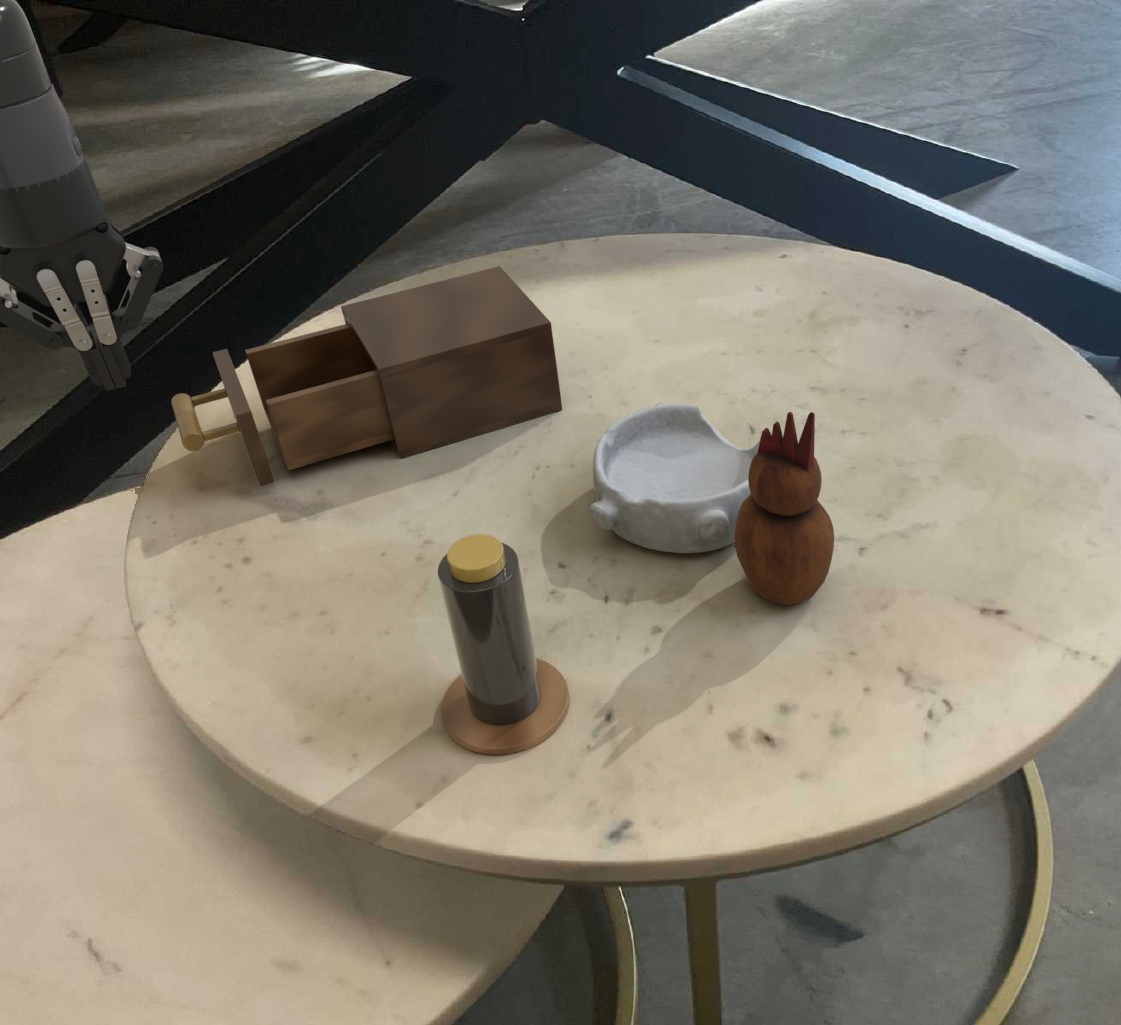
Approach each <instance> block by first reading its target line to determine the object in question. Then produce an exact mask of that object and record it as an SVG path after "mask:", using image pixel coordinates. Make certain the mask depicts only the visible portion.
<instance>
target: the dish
mask: <svg viewBox="0 0 1121 1025" xmlns="http://www.w3.org/2000/svg"><path fill="white" fill-rule="evenodd" d="M759 443H760V440H758V442H756V444H755V445H754V446H752V447H751V448H749V449H748V448H747V449H743V448H739V447H738V446H736V445H734V444H733V443H731V441H729V440H728V439H727V438H725V437H724V436H723V435H722V434H721V433H720V431H718V429H717V428H716V427H715V426H714V425H713V424H712V423H711V421H709V420H708V418H707V417H706V416H705V414H704V412H702V410H701V408H700V407H699V406H697V405H696V404H691V403H674V402H668V401H663V402H659V403H657V404H654V406H649V407H645V408H642V409H639V410H636V411H634V412H632V413H629V414H627V415H626V416H624V417H622V418H620V419H618V420H616V421H615V422H613V423H612V424H611V425H609V427H608V428H607V429H606V431H605V432H604V434H603V435H602V436H601V437H600V438H599V439H598V441H597V444H596V446H595V449H594V453H593V458H592V459H593V461H592V478H593V480H592V481H593V487H594V494H595V499H596V501H595V502H593V503H592V504H591V505H590V507H589V509H590V513H591V516H592V519H593V520H594V521H595V522H596V524H597V525H598V526H599V527H600V528H602V529H604V530H607V531H609V530H610V531H613V532H614V533H615V534H616V535H618V537H620V538H621V539H623V540H625V541H628V542H629V543H631V544H634V545H637V546H639V547H642V548H647V549H650V550H654V551H658V552H659V551H660V552H666V553H674V554H675V553H676V554H677V553H678V554H697V553H706V552H711V551H716V550H719V549H722V548H725V547H728V546H729V545H732V544H735V539H734V534H735V528H736V522H737V517H738V512H739V510H740V507H741V505H742V503H743V501H744V500H745V499H746V498H747V497H748V496H749V495H750V494H751V492H750V489H749V482H748V476H749V469H750V464H751V462H752V459H753V457H754V456H755V455H756V454H757V453H758V448H759Z"/></svg>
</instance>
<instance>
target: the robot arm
mask: <svg viewBox="0 0 1121 1025" xmlns="http://www.w3.org/2000/svg"><path fill="white" fill-rule="evenodd" d="M39 48H40V47H39V46H38V43H37V39H36V37H35V35H34V33H33V30H32V27H31V25H30V22H29V20H28V18H27V16H26V14H25V11H24V10H23V8H22V6H20V4H19V3H18V2H17V1H16V0H0V323H1V324H3V325H5V326H7V327H8V328H10V329H12V330H14V331H16V332H18V333H19V334H21V335H24V336H25V337H27V338H29V339H31V340H32V341H34V342H36V343H37V344H39V345H42V346H44V347H46V348H47V349H49V350H53V351H56V350H60V349H61V348H72V349H75V350H76V351H77V352H78V353H79V355H80V358H81V360H82V362H83V364H84V367H85V369H86V371H87V373H88V376H89V379H90V381H91V382H92V383H93V384H94V385H96V387H98V386H102V385H103V387H104V389H105V391H106V392H109V391H113V390H117V389H121V388H125V387H127V381H126V379H130V378H131V377H132V368H131V364H130V361H129V359H128V356H127V353H126V351H125V349H124V346H123V343H122V341H121V338H122V336H123V335H124V334H126V333H127V332H128V331H130V332H132V331H136V330H137V329H138V328H139V326H140V324H141V322H142V320H143V317H144V315H145V313H146V310H147V308H148V306H149V303H150V301H151V299H152V296H153V294H154V292H155V289H156V287H157V285H158V283H159V280H160V278H161V276H162V273H163V272H164V269H165V268H164V263H163V260H162V256H161V254H160V252H159V249H157V248H156V247H153V246H148V247H147V246H146V247H144V248H143V247H139V246H136V245H133V244H131V243H128V242H126V241H125V238H124V235H123V234H122V232H121V231H120V230H119V229H118V228H116V227H115V226H114V225H113V223H111V222H112V221H110V219H109V216H108V214H107V211H106V209H105V206H104V204H103V201H102V199H101V196H100V193H99V190H98V188H97V185H96V182H95V180H94V177H93V175H92V172H91V170H90V166H89V164H88V162H87V159H86V157H85V154H84V151H83V147H82V144H81V142H80V140H79V138H78V136H77V133H76V131H75V130H76V129H75V127H74V125H73V123H72V120H71V118H70V116H69V114H68V112H67V110H66V108H65V105H63V103H62V100H61V99H60V97H59V95H58V93H57V91H56V89H55V86H54V85H53V82H52V80H51V76H50V74H49V72H48V69H47V67H46V65H45V64H46V63H45V62H44V59H43V57H42V53H41V51H40V49H39ZM123 260H125V261H126V271H127V274H128V275H129V276H130V280H129V282H128V284H127V286H126V288H125V291H124V293H123V296H122V298H121V300H120V303H119V305H118V308H117V309H116V310H114V311H113V312H111V310H110V306H109V303H108V300H107V296H106V295H108V294H109V293H110V291H112V289H113V288H114V284H115V281H116V278H117V277H118V274H119V271H120V268H121V266H122V263H123ZM12 287H14V288H15V289H17V290H19V291H20V292H21V293H23V294H25V295H27V296H29V297H30V298H31V299H33V300H34V301H37V302H38V303H40V304H42V305H43V306H46V307H50V308H53V310H54V312H55V314H56V316H57V317H58V319H59V321H60V323H59V322H57V321H56V320H54V319H52V318H50V317H48V316H47V315H45V314H43V313H41V312H39V311H38V310H36V309H34V308H32V307H30V306H28V305H27V304H25V303H23V302H22V301H20V300H19V295H18V293H17V291H16V290H15V289H13V288H12ZM79 303H86V304H87V307H88V311H89V314H90V317H91V319H92V322H93V325H94V328H95V331H96V335H94V334H93V332H92V329H91V328H90V326H89V324H88V322H87V320H86V318H85V315H84V314H83V312H82V311H81V308H80V305H79Z"/></svg>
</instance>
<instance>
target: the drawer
mask: <svg viewBox="0 0 1121 1025" xmlns="http://www.w3.org/2000/svg"><path fill="white" fill-rule="evenodd" d="M244 352H245V355H246V358H247V361H248V364H249V367H250V371H251V374H252V376H253V380H254V383H255V386H256V390H257V392H258V395H259V399H260V402H261V404H262V408H263V411H264V414H265V416H266V419H267V422H268V423H269V426H270V428H271V431H272V434H273V436H274V439H275V441H276V443H277V446H278V449H279V451H280V453H281V456H282V457H283V461H284V463H285V465H286V468H287V471H291V470H295V469H298V468H301V467H305V466H308V465H311V464H314V463H315V464H316V463H319V462H322V461H325V460H329V459H332V458H335V457H338V456H339V457H340V456H342V455H346V454H348V453H352V452H355V451H359V450H363V449H365V448H368V447H369V448H370V447H372V446H376V445H379V444H382V443H386V442H389V441H390V440H393V439H394V437H393V433H392V429H391V424H390V420H389V416H388V412H387V408H386V404H385V400H384V396H383V392H382V388H381V384H380V380H379V376H378V373H377V371H376V369H375V367H374V366H373V364H372V362H371V361H370V359H369V357H368V356H367V354H366V352H365V351H364V349H363V347H362V345H361V344H360V342H359V340H358V339H357V337H356V335H355V334H354V332H353V330H352V328H351V327H350V325H349V323H348V324H345V323H344V324H340V325H336V326H332V327H328V328H324V329H322V330H318V331H314V332H309V333H306V334H305V333H304V334H302V335H297V336H295V337H290V338H285V339H283V340H279V341H274V342H271V343H267V344H263V345H259V346H256V347H252V348H251V347H250V348H248V349H245V350H244ZM212 357H213V359H214V362H215V365H216V367H217V370H218V374H219V376H220V380H221V382H222V385H223V388H221V389H217V390H213V391H209V392H206V393H205V392H204V393H201V394H199V395H195V396H190V395H189V394H187V393H182V392H180V393H177V394H175V395H174V396H173V397H172V398H171V407H172V411H173V413H174V418H175V421H176V426H177V428H178V432H179V436H180V440H181V443H182V446H183V448H184V449H186V450H187V451H189V452H197V451H200V450H201V449H203V447H204V446H205V443H206V442H207V441H211V440H215V439H219V438H222V437H225V436H229V435H233V434H237V433H239V434H240V437H241V439H242V443H243V445H244V448H245V451H246V453H247V456H248V459H249V462H250V464H251V468H252V471H253V474H254V476H255V478H256V481H257V485H258V487H260V488H261V487H265V486H267V485H271V484H274V483H275V479H274V476H273V474H272V471H271V467H270V464H269V461H268V458H267V455H266V452H265V449H264V446H263V442H262V440H261V437H260V434H259V431H258V428H257V425H256V422H255V419H254V416H253V413H252V409H251V408H250V405H249V403H248V400H247V397H246V395H245V392H244V389H243V386H242V384H241V382H240V379H239V376H238V374H237V372H236V369H235V366H234V364H233V361H232V358H231V356H230V353H229V350H228V348H223V349H220V350H217V351H216V350H215V351H213V352H212ZM223 399H228V403H229V405H230V409H231V411H232V415H233V417H234V421H235V422H233V423H229V424H225V425H222V426H218V427H215V428H212V429H208V430H204V431H203V430H202V427H201V424H200V421H199V417H198V415H197V411H196V408H195V407H196V406H197V407H198V406H200V405H204V404H208V403H211V402H215V401H219V400H223Z"/></svg>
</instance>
